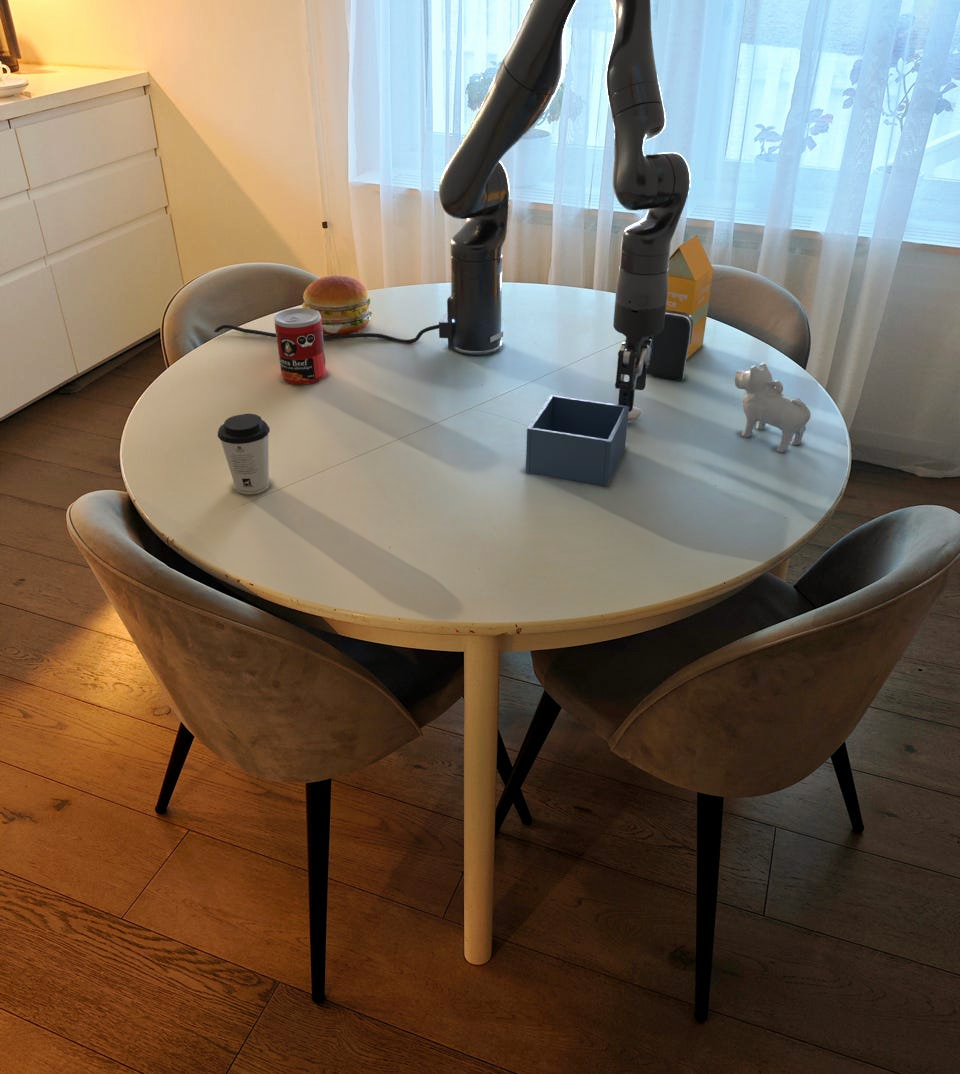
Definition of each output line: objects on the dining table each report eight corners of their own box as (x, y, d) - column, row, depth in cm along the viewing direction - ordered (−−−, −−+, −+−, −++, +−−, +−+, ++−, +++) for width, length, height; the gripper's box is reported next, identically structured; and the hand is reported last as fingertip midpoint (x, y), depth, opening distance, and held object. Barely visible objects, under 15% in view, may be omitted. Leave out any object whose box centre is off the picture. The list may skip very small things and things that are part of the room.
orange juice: (703, 345, 171) (718, 237, 160) (686, 360, 165) (700, 249, 154) (664, 336, 175) (677, 231, 164) (646, 351, 169) (657, 242, 158)
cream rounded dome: (607, 417, 145) (608, 402, 144) (634, 411, 147) (635, 397, 146) (621, 428, 142) (622, 413, 141) (648, 422, 144) (650, 408, 142)
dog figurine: (739, 417, 146) (750, 354, 140) (809, 445, 137) (823, 379, 132) (718, 427, 143) (729, 363, 137) (789, 456, 135) (803, 389, 129)
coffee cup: (253, 504, 123) (242, 438, 118) (216, 490, 126) (204, 425, 121) (287, 482, 128) (279, 418, 123) (251, 469, 131) (241, 406, 126)
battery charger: (688, 374, 160) (696, 311, 153) (682, 382, 157) (691, 318, 151) (649, 367, 162) (656, 305, 156) (643, 375, 159) (650, 312, 153)
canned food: (273, 381, 157) (264, 320, 151) (297, 364, 163) (290, 305, 157) (311, 388, 155) (304, 326, 149) (334, 371, 161) (329, 311, 155)
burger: (368, 340, 173) (364, 289, 167) (297, 340, 173) (291, 289, 168) (376, 316, 184) (373, 267, 179) (309, 316, 184) (304, 267, 179)
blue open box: (526, 428, 127) (611, 441, 123) (550, 394, 136) (629, 406, 133) (525, 472, 130) (607, 486, 127) (548, 436, 140) (625, 448, 137)
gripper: (627, 281, 140) (619, 379, 149) (603, 310, 129) (596, 414, 138) (675, 287, 138) (664, 385, 147) (655, 317, 127) (645, 421, 136)
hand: (631, 399), depth 143 cm, fingers open, 8 cm apart
